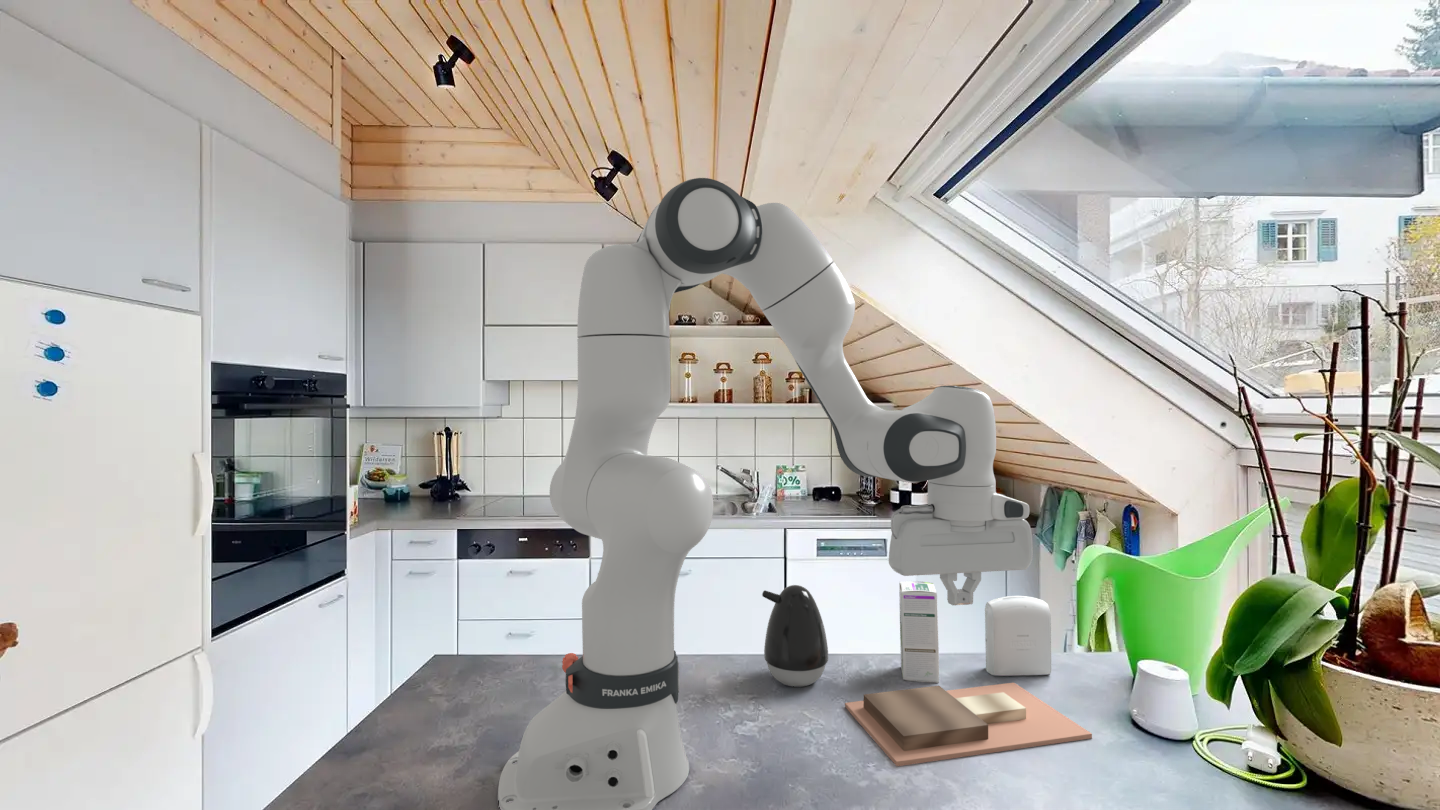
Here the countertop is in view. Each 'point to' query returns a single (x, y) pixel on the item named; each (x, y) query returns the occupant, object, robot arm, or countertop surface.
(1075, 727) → the rubber mat
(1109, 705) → the countertop surface
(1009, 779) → the countertop surface
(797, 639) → the pump dispenser
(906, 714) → the walnut block
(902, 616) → the syrup box
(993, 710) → the birch tile
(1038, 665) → the photo printer
